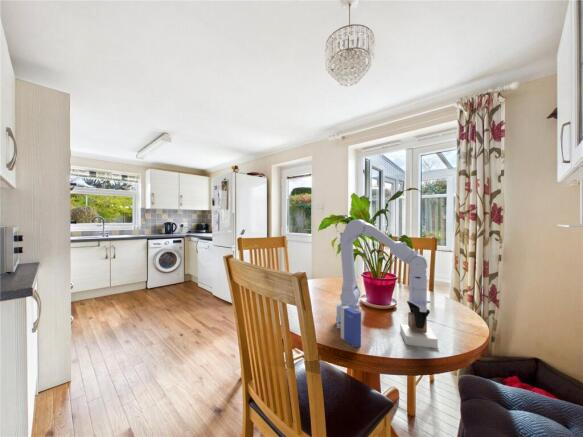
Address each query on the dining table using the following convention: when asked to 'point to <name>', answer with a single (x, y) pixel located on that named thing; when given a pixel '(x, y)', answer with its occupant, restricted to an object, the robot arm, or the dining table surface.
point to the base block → (418, 337)
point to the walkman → (351, 326)
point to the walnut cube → (413, 325)
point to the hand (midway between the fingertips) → (417, 324)
